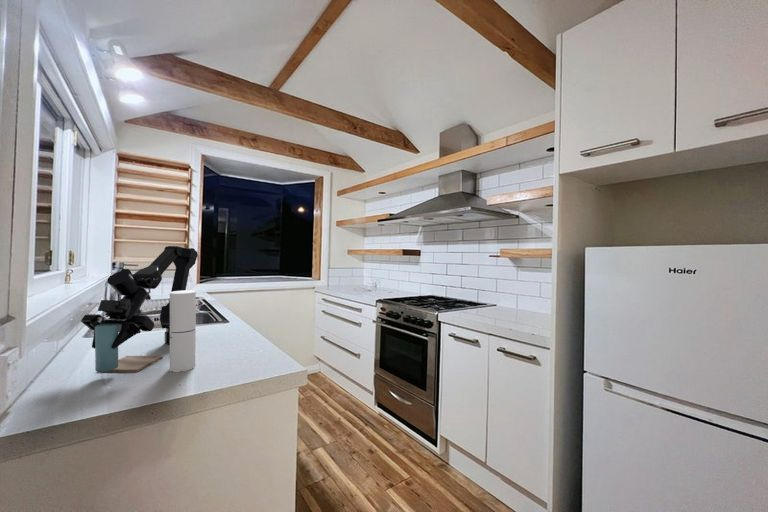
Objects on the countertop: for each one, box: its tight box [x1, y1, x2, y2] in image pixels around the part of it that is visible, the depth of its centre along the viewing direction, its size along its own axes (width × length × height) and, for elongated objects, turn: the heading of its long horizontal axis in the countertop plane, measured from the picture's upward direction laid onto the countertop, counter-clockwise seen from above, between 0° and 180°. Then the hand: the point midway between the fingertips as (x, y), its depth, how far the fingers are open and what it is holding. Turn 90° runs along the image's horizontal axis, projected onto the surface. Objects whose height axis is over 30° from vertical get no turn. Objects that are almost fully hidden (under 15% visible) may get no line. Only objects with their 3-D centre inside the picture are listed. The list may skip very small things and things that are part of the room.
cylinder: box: [94, 323, 119, 373], centre depth 95 cm, size 5×5×13 cm
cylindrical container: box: [169, 289, 197, 373], centre depth 103 cm, size 7×7×25 cm
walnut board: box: [102, 355, 163, 373], centre depth 105 cm, size 12×12×1 cm
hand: (103, 348), depth 93 cm, fingers closed on cylinder, 5 cm apart
